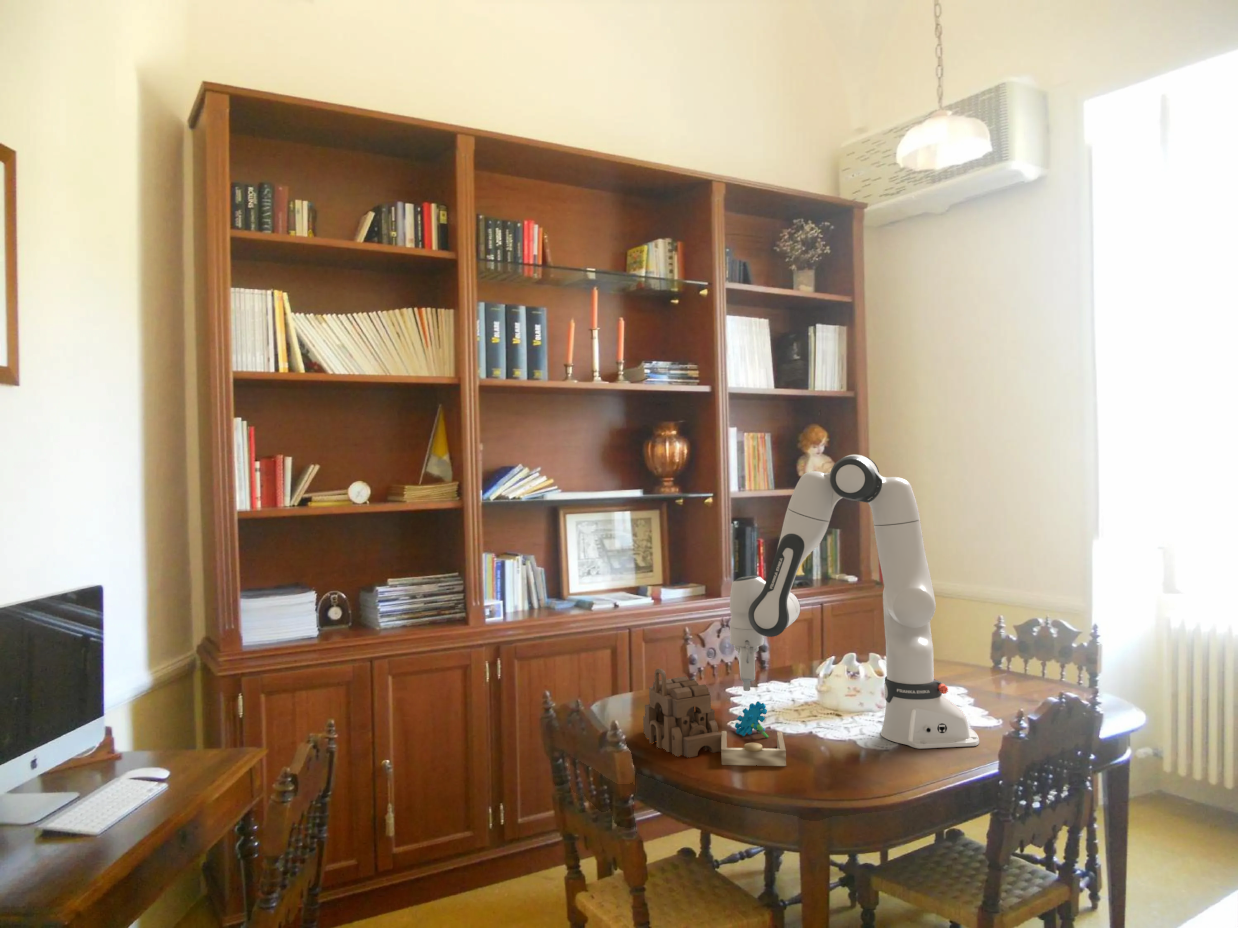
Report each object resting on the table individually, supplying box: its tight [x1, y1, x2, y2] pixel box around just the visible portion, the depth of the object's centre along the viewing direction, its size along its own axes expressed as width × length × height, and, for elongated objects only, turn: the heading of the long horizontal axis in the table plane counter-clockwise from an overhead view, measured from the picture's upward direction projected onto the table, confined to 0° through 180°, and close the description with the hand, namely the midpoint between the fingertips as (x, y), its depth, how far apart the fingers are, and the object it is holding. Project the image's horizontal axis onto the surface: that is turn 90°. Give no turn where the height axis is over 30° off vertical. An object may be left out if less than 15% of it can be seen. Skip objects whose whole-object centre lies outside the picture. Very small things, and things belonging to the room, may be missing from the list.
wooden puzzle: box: [642, 668, 722, 759], centre depth 214 cm, size 22×15×19 cm, turn 25°
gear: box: [734, 700, 769, 739], centre depth 219 cm, size 11×6×10 cm
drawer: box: [720, 730, 787, 767], centre depth 202 cm, size 14×15×4 cm
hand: (746, 689), depth 229 cm, fingers closed
